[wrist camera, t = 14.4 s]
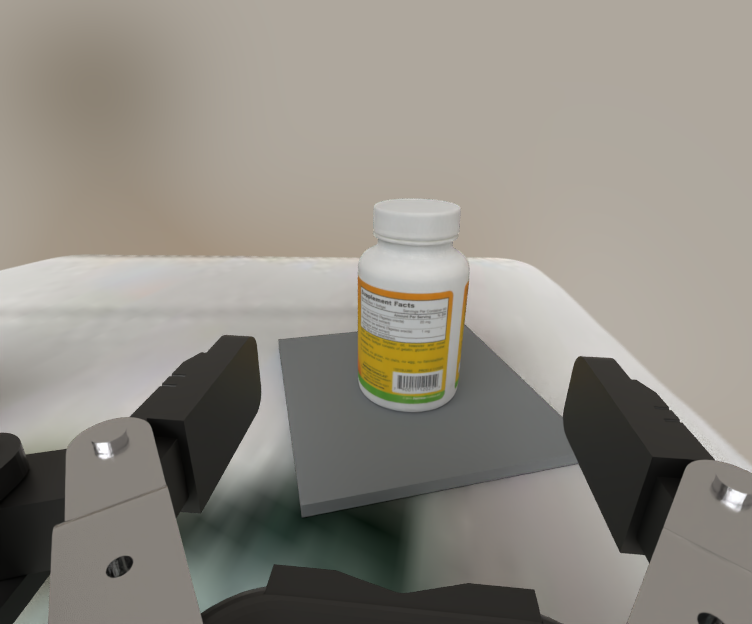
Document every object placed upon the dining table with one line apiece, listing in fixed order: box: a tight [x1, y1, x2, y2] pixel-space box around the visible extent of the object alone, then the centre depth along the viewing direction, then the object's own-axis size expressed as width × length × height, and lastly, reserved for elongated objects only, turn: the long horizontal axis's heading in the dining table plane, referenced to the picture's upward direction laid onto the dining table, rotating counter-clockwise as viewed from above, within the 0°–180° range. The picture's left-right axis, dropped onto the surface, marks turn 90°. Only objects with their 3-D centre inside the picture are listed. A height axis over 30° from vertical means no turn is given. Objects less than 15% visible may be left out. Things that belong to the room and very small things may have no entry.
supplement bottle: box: [358, 199, 470, 412], centre depth 22 cm, size 5×5×10 cm
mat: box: [278, 324, 578, 517], centre depth 24 cm, size 13×14×1 cm
